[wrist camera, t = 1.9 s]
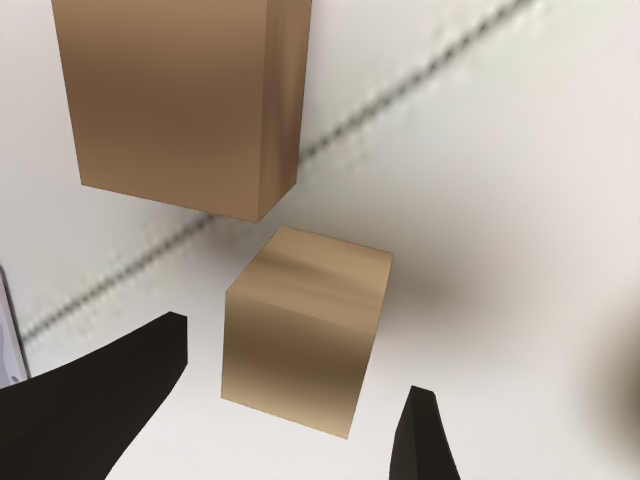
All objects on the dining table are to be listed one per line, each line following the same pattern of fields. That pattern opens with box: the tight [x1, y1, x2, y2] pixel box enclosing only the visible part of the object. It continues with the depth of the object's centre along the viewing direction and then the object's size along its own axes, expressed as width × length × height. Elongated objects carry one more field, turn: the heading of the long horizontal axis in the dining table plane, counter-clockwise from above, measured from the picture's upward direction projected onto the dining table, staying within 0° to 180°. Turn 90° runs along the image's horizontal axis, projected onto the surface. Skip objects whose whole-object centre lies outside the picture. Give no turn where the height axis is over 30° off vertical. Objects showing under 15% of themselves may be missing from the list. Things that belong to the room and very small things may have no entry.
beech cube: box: [221, 225, 393, 439], centre depth 15 cm, size 4×4×5 cm
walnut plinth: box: [51, 0, 312, 223], centre depth 13 cm, size 6×6×4 cm
